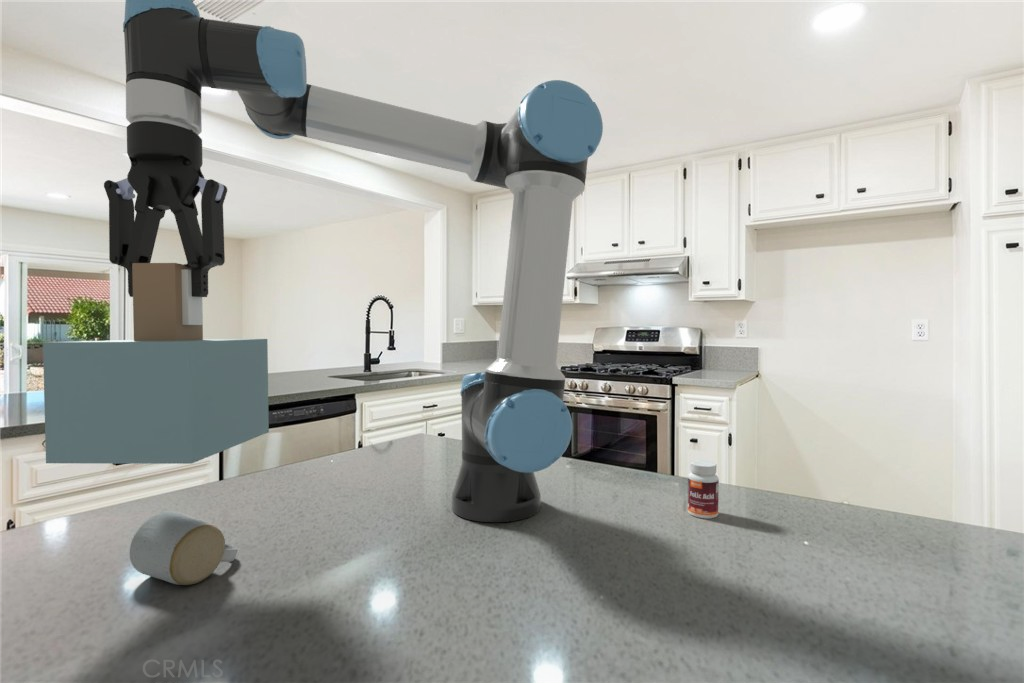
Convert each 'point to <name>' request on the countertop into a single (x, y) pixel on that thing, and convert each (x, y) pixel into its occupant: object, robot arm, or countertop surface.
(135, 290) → the pale blue storage box
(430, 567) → the countertop surface
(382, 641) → the countertop surface
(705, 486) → the pill bottle
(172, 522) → the ceramic mug
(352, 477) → the countertop surface
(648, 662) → the countertop surface
